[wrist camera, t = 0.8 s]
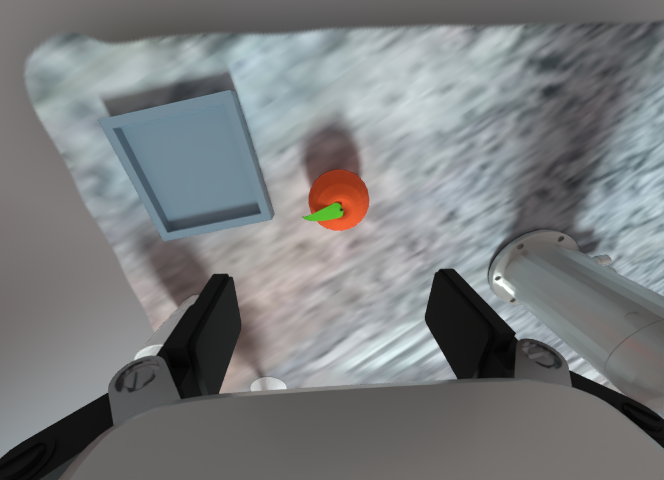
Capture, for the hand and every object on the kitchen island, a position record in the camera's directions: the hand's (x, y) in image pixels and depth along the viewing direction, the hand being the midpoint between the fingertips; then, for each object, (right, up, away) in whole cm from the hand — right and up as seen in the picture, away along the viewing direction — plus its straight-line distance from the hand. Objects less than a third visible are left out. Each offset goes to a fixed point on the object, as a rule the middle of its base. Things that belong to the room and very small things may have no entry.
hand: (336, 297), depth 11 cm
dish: (-16, +11, +18) cm, 26 cm away
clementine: (0, +9, +20) cm, 22 cm away
